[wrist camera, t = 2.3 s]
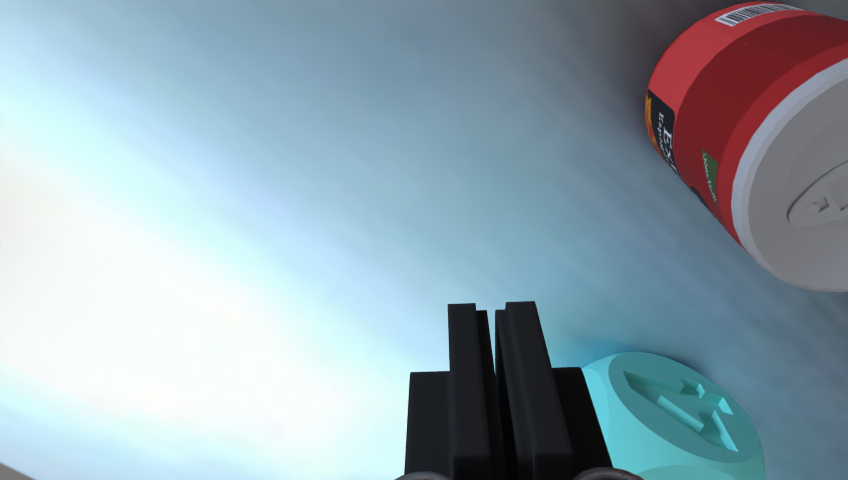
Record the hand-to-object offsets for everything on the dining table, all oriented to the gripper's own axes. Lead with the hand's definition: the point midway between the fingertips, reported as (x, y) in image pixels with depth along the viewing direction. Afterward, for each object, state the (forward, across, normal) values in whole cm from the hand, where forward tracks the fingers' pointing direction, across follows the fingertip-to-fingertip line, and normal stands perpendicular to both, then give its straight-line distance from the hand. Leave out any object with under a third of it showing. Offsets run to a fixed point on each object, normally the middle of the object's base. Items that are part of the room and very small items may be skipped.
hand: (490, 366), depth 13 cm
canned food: (+19, -12, 0) cm, 23 cm away
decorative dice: (+19, -9, +18) cm, 28 cm away
